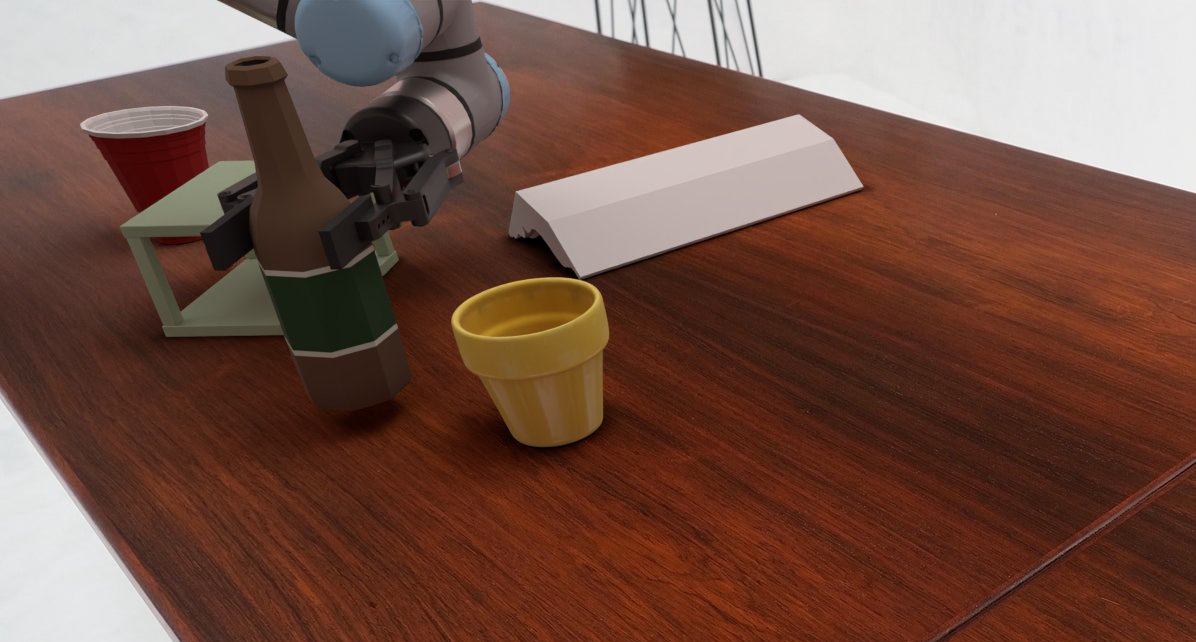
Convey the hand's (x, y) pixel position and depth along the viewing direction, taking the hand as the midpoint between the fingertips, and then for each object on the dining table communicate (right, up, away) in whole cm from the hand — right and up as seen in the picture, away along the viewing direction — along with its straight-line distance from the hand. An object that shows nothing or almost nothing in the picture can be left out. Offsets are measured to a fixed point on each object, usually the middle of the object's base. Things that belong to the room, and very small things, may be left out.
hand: (271, 251), depth 85 cm
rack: (-16, +2, +32) cm, 35 cm away
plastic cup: (-33, +11, +46) cm, 57 cm away
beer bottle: (0, -8, +12) cm, 14 cm away
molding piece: (+18, +13, +46) cm, 51 cm away
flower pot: (+16, -11, +11) cm, 22 cm away
